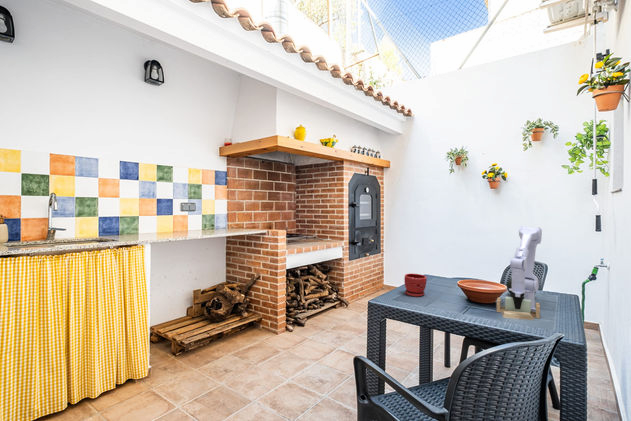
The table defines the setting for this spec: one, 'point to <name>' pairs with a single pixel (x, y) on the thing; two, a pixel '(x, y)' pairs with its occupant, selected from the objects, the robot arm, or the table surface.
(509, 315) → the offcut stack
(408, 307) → the table surface
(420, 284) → the plant pot
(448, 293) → the table surface
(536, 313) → the oak rack
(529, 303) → the green sheet
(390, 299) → the table surface
